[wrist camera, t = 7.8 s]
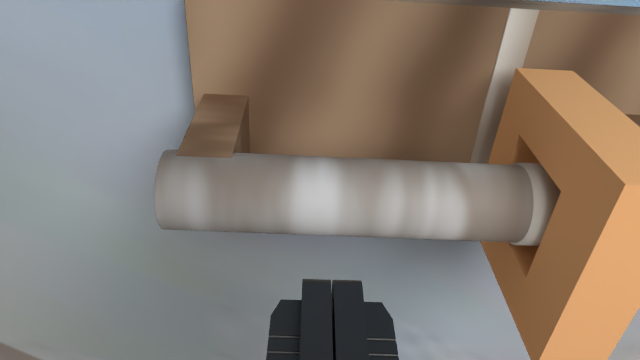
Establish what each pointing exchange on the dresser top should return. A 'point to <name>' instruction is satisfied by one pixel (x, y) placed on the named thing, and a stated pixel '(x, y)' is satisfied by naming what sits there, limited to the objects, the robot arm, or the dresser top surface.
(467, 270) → the dresser top surface
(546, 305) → the collar
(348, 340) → the robot arm
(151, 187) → the dresser top surface
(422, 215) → the pipe stand
